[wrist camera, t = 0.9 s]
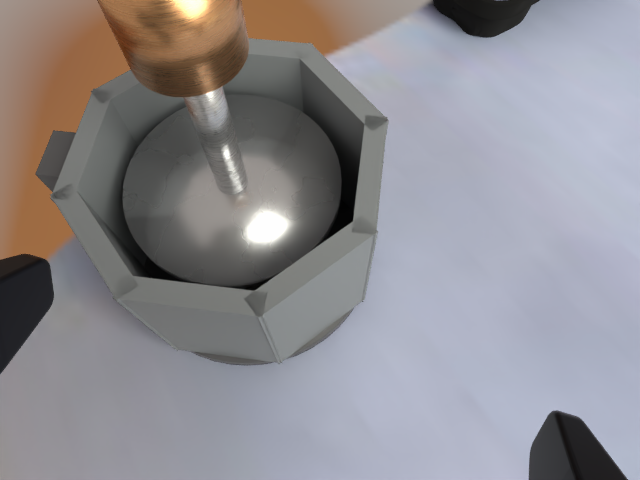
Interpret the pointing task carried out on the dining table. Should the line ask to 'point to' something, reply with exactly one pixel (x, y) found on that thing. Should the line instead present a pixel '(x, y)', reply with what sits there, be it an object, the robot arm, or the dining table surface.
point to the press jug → (213, 301)
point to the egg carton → (485, 14)
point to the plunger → (219, 152)
